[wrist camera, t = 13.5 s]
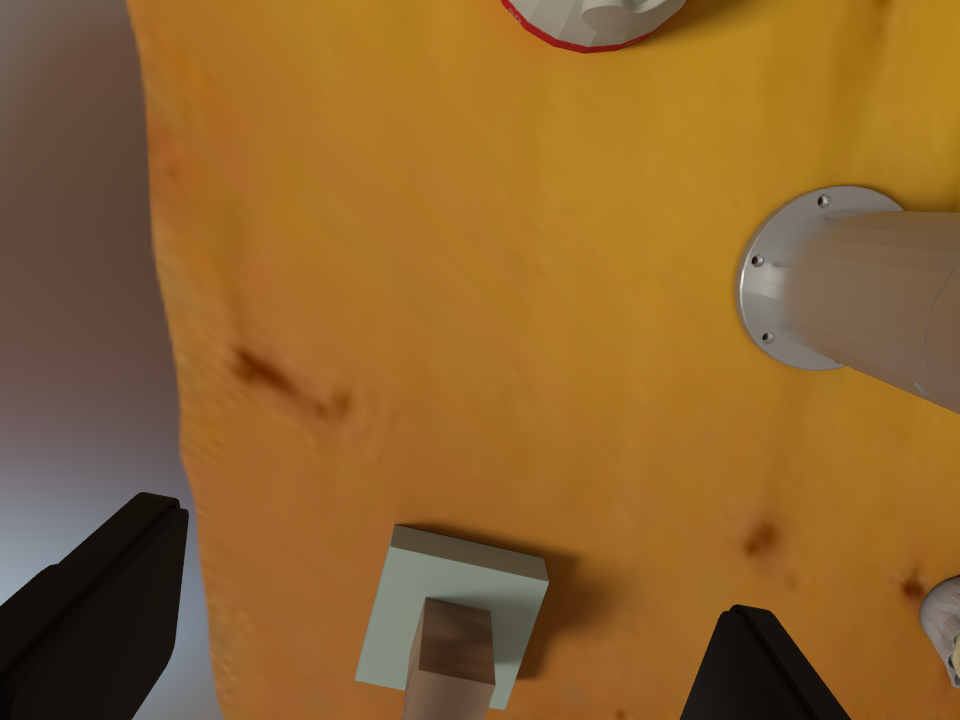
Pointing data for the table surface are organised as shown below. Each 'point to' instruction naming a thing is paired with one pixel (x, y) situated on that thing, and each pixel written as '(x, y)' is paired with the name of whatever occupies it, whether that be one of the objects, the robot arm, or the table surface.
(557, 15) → the kitchen timer
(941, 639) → the cupcake
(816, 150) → the table surface
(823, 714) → the robot arm
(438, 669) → the walnut block
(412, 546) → the plate
